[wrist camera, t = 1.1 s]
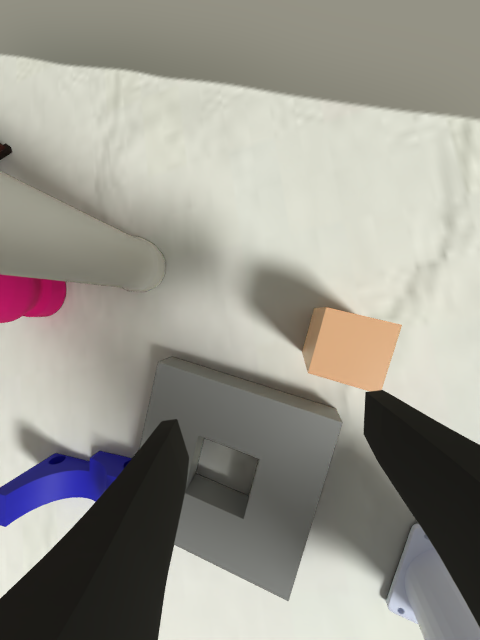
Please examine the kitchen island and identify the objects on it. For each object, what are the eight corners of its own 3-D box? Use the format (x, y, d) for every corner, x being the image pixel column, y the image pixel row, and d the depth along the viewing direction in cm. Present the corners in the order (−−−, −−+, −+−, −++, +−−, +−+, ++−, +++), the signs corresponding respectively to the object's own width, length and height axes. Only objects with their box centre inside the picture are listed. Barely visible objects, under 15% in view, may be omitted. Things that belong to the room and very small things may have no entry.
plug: (362, 319, 19) (402, 324, 12) (349, 364, 20) (380, 394, 13) (314, 308, 20) (326, 307, 13) (302, 351, 20) (307, 372, 14)
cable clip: (149, 460, 25) (106, 507, 19) (147, 500, 25) (104, 559, 19) (57, 439, 27) (-8, 476, 21) (56, 476, 27) (-8, 522, 21)
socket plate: (336, 408, 20) (342, 422, 18) (288, 568, 22) (288, 601, 19) (172, 356, 23) (158, 362, 21) (140, 498, 25) (124, 519, 22)
